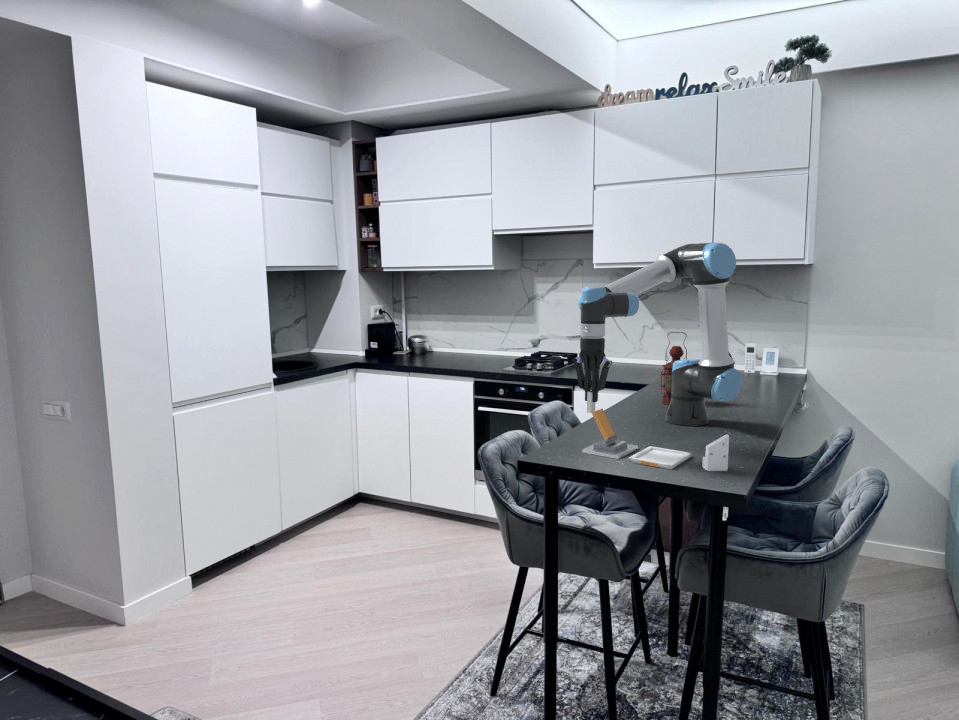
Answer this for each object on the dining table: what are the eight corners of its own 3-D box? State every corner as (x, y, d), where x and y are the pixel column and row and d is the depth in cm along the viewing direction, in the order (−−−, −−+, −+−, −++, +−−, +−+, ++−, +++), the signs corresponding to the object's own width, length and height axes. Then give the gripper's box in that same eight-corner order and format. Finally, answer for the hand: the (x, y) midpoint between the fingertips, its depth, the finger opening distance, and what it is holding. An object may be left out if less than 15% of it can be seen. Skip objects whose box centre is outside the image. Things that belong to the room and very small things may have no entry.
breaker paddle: (613, 441, 208) (598, 410, 210) (618, 439, 207) (603, 408, 209) (605, 444, 204) (590, 413, 206) (610, 442, 203) (595, 411, 205)
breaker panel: (603, 442, 215) (603, 435, 215) (637, 448, 208) (638, 441, 208) (582, 452, 204) (582, 444, 204) (618, 458, 197) (618, 450, 197)
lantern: (687, 400, 283) (690, 330, 279) (691, 406, 271) (694, 333, 267) (658, 400, 285) (660, 330, 282) (660, 405, 274) (663, 332, 270)
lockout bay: (649, 449, 207) (650, 446, 207) (691, 456, 199) (691, 452, 199) (627, 461, 194) (627, 457, 194) (671, 469, 186) (671, 465, 186)
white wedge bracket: (743, 461, 185) (729, 435, 184) (711, 479, 186) (697, 453, 184) (737, 458, 189) (723, 432, 188) (707, 475, 189) (692, 450, 188)
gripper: (568, 336, 207) (566, 411, 210) (606, 339, 199) (604, 416, 202) (579, 334, 213) (578, 407, 216) (617, 337, 205) (615, 412, 208)
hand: (591, 411), depth 209 cm, fingers closed
